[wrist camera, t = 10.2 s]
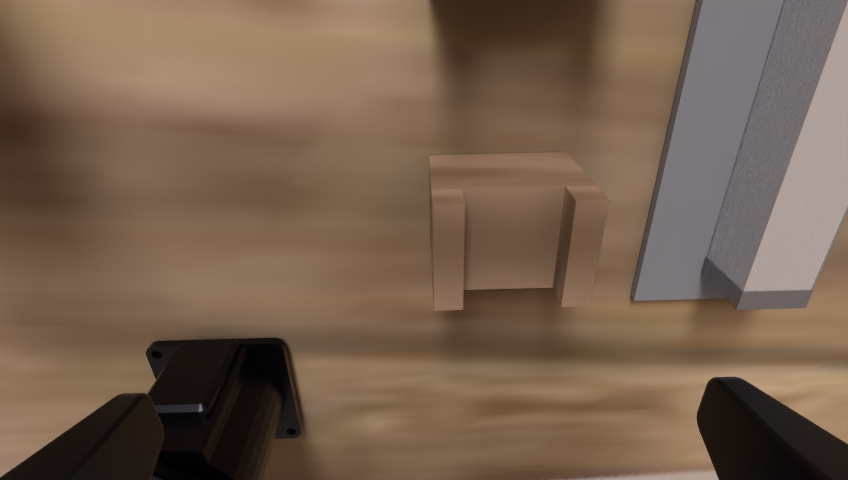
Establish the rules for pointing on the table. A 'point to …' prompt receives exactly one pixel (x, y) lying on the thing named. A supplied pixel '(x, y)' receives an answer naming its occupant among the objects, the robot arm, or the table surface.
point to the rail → (788, 166)
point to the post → (513, 225)
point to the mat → (704, 145)
